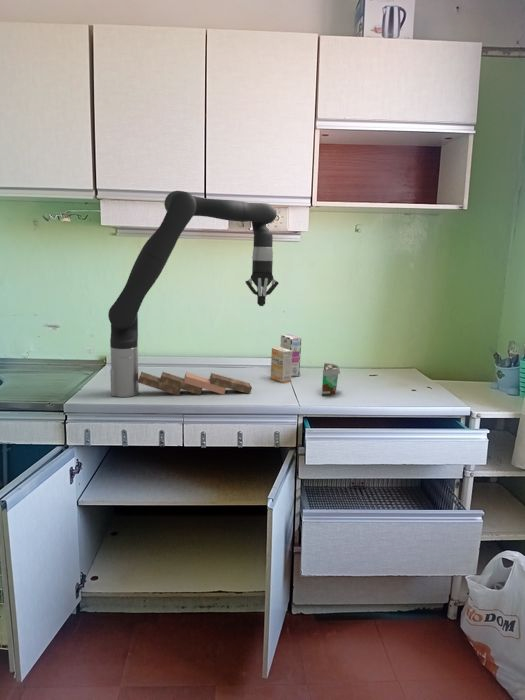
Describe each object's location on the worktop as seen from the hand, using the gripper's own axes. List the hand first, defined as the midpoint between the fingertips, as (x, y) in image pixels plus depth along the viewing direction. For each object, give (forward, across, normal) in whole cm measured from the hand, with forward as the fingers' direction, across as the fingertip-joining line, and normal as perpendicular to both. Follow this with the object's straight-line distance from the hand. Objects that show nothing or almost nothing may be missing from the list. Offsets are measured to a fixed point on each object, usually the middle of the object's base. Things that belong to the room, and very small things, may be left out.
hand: (261, 305), depth 187 cm
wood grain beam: (+30, -5, -9) cm, 32 cm away
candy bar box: (+31, +16, +16) cm, 39 cm away
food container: (+31, +25, -13) cm, 42 cm away
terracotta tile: (+30, -15, -9) cm, 34 cm away
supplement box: (+31, +10, +6) cm, 33 cm away
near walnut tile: (+30, -31, -9) cm, 44 cm away
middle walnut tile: (+30, -23, -9) cm, 39 cm away
